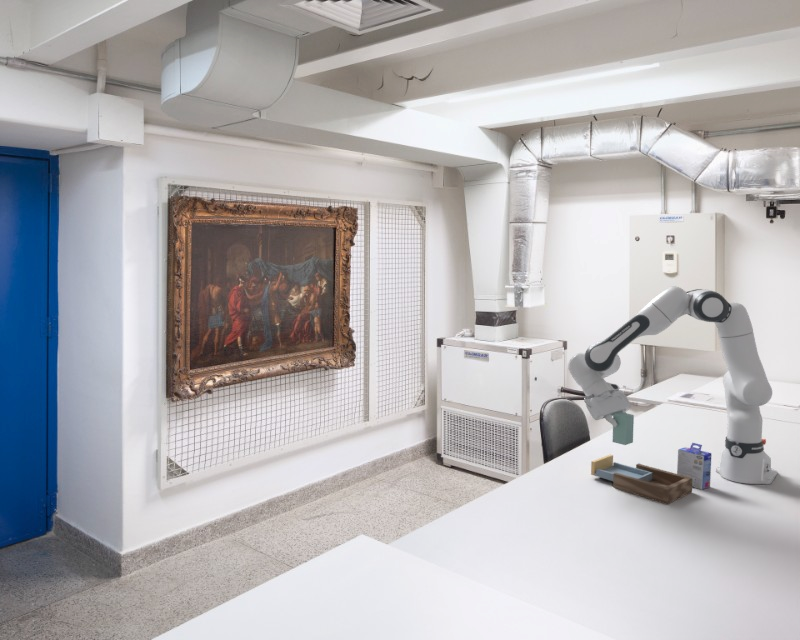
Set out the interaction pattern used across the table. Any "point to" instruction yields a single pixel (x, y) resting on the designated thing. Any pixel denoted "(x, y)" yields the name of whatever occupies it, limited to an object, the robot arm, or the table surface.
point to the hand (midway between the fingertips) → (622, 424)
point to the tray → (617, 469)
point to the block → (623, 428)
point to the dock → (655, 485)
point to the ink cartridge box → (695, 465)
